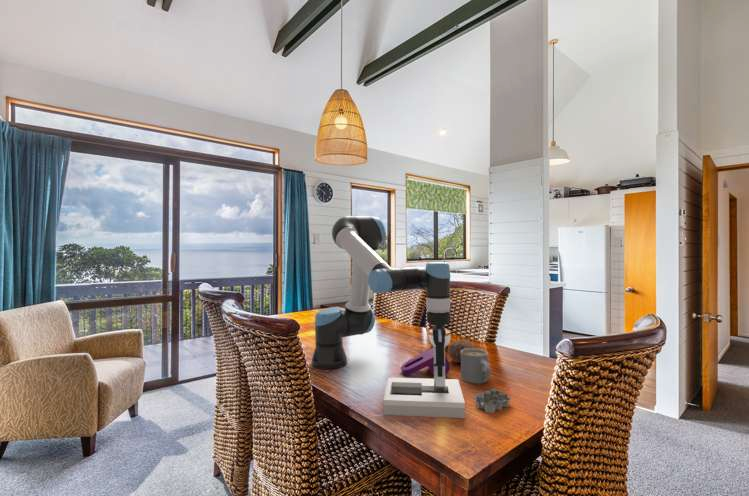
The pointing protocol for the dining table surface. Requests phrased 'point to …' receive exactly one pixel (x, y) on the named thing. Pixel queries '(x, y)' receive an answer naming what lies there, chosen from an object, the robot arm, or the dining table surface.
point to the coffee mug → (474, 365)
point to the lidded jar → (447, 337)
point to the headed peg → (436, 388)
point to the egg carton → (497, 400)
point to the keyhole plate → (423, 398)
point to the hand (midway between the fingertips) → (439, 383)
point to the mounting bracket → (422, 363)
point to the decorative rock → (458, 349)
